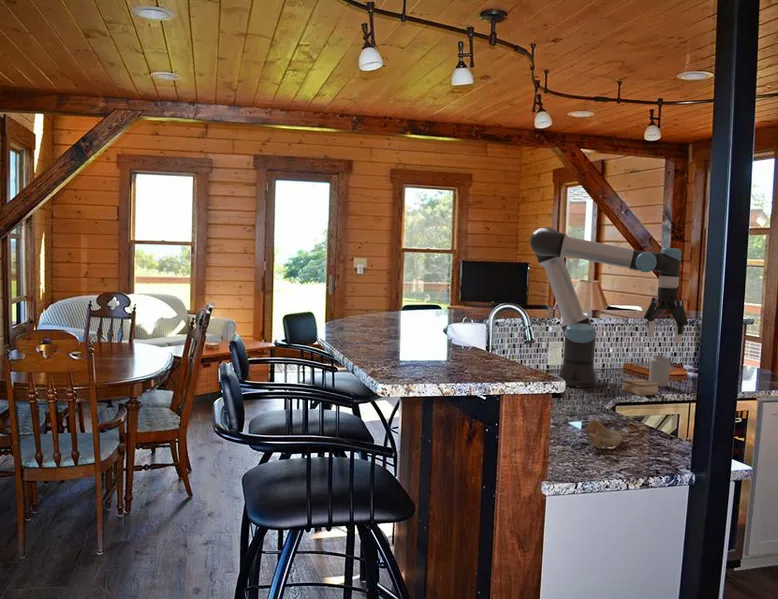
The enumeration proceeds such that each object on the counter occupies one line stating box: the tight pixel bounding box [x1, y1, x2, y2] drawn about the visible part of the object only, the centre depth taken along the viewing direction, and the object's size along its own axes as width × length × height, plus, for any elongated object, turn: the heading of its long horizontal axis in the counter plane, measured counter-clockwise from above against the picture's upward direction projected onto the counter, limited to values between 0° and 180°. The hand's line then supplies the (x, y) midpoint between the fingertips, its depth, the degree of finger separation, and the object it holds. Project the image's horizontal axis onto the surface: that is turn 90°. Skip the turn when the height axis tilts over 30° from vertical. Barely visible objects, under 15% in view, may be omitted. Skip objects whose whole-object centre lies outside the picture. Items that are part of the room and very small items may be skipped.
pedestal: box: [622, 378, 659, 397], centre depth 270 cm, size 9×9×4 cm
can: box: [648, 355, 671, 388], centre depth 284 cm, size 8×8×12 cm
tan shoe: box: [585, 418, 624, 449], centre depth 196 cm, size 9×21×10 cm, turn 144°
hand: (663, 339), depth 282 cm, fingers open, 13 cm apart
